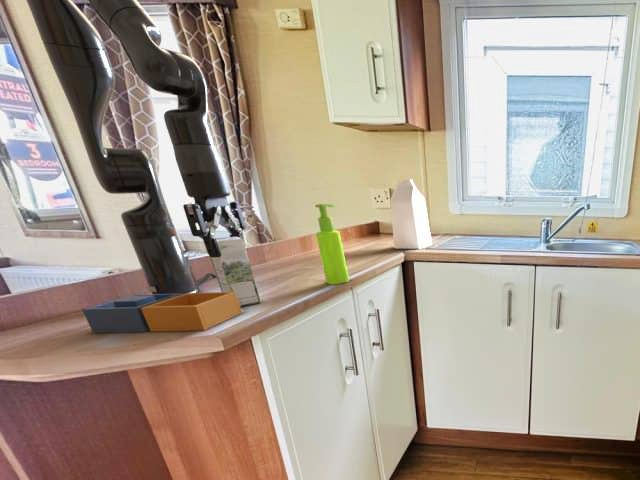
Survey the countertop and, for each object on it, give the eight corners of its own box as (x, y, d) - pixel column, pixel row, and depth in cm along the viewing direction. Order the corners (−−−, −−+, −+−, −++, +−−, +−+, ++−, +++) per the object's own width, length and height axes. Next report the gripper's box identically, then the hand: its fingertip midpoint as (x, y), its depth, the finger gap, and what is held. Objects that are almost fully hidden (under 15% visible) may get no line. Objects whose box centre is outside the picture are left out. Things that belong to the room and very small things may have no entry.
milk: (394, 248, 179) (384, 180, 168) (408, 244, 189) (399, 180, 178) (419, 248, 175) (410, 179, 164) (432, 244, 185) (424, 179, 174)
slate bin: (143, 315, 91) (134, 294, 89) (190, 314, 90) (182, 293, 88) (93, 333, 80) (81, 309, 78) (146, 331, 80) (136, 307, 78)
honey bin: (194, 314, 90) (186, 293, 88) (242, 313, 90) (235, 291, 88) (150, 331, 80) (140, 307, 78) (204, 330, 79) (195, 306, 77)
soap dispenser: (355, 279, 120) (341, 202, 111) (340, 284, 114) (323, 204, 105) (338, 278, 121) (322, 203, 113) (322, 283, 115) (304, 204, 107)
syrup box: (251, 299, 101) (232, 236, 95) (262, 302, 98) (242, 237, 91) (225, 304, 97) (203, 238, 91) (235, 308, 94) (213, 240, 87)
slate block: (141, 317, 87) (132, 296, 85) (162, 317, 87) (153, 295, 85) (122, 324, 83) (112, 301, 81) (144, 323, 83) (135, 301, 81)
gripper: (208, 173, 92) (232, 250, 99) (156, 171, 79) (188, 260, 86) (241, 171, 92) (263, 249, 99) (194, 169, 79) (223, 258, 86)
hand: (228, 254), depth 92 cm, fingers closed on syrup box, 8 cm apart
